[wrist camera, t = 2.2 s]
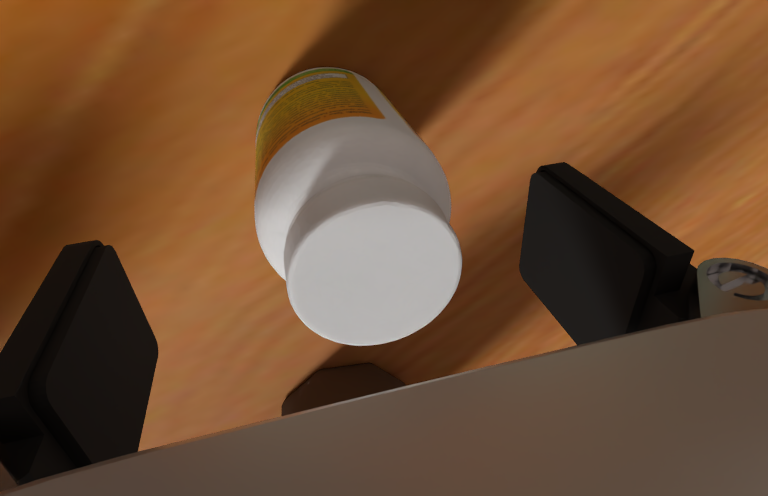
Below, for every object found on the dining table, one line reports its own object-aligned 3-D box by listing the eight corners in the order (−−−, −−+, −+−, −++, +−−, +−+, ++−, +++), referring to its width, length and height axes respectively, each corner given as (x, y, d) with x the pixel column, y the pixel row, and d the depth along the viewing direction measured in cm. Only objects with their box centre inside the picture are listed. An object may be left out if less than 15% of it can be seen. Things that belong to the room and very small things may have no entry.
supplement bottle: (233, 166, 18) (210, 337, 10) (293, 34, 16) (325, 117, 8) (353, 217, 20) (412, 389, 12) (419, 107, 18) (539, 228, 10)
